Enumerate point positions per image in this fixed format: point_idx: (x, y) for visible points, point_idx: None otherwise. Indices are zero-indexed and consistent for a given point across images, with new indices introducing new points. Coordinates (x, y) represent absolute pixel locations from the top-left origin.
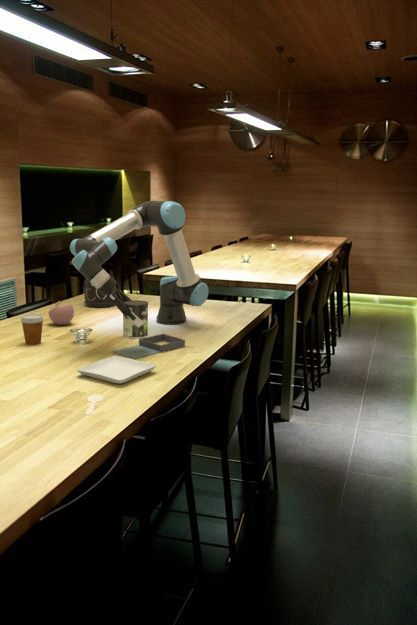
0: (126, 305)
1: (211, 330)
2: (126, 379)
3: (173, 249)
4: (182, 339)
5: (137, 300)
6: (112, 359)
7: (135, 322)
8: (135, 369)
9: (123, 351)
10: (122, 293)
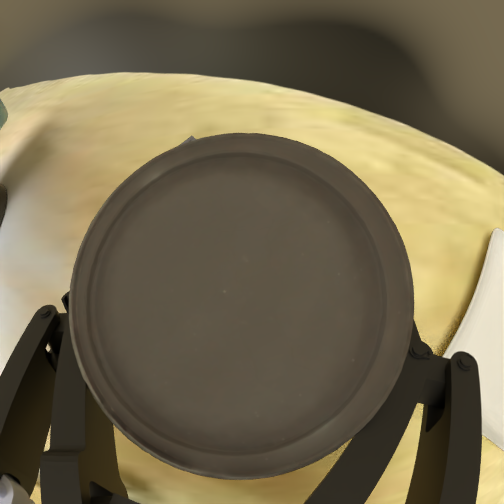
0: (376, 418)
1: (67, 119)
2: None
3: None
4: (184, 143)
5: (76, 271)
6: None
7: None
8: (491, 297)
9: None
10: (46, 494)
